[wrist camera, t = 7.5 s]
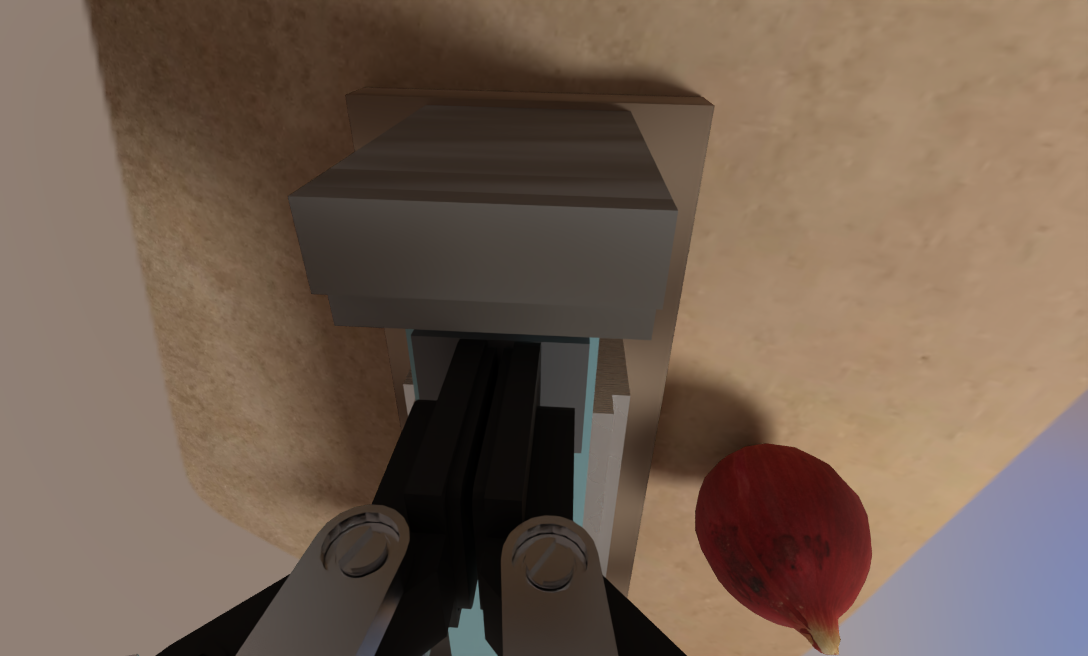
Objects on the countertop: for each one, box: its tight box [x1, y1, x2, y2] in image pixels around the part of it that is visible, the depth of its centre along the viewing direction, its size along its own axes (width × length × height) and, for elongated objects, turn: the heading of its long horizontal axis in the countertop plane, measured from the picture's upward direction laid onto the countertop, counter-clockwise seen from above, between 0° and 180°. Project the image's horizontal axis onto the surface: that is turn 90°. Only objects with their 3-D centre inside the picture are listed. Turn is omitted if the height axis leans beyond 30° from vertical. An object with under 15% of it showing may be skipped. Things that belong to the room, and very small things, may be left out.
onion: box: [695, 443, 872, 655], centre depth 19 cm, size 6×6×8 cm
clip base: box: [288, 87, 714, 656], centre depth 17 cm, size 23×10×10 cm, turn 179°
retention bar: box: [405, 329, 599, 656], centre depth 16 cm, size 18×4×1 cm, turn 179°
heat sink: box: [403, 338, 630, 578], centre depth 19 cm, size 10×6×4 cm, turn 179°
